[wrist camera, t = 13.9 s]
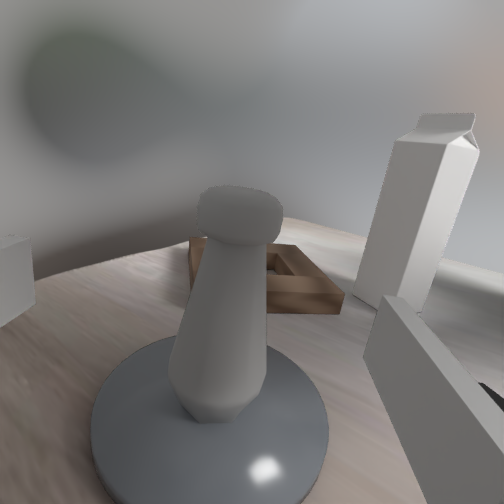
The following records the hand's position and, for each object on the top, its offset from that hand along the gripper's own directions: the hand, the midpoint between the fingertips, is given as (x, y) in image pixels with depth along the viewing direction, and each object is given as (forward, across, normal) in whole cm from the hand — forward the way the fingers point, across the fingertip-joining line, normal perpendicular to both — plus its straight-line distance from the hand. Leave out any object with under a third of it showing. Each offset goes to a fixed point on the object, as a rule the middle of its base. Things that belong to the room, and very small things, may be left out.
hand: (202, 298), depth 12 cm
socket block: (+26, +2, -10) cm, 28 cm away
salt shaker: (+5, +1, -10) cm, 11 cm away
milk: (+26, +19, -11) cm, 34 cm away
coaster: (+5, +1, -10) cm, 12 cm away
